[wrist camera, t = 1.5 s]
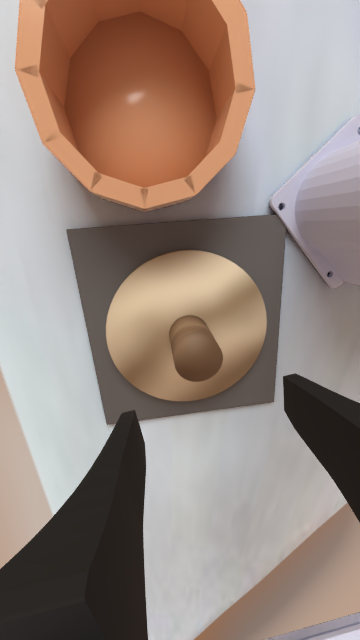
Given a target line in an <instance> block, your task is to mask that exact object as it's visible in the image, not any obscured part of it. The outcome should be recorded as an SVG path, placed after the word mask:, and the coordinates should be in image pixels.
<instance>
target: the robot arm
mask: <svg viewBox="0 0 360 640" xmlns="http://www.w3.org/2000/svg"><path fill="white" fill-rule="evenodd" d="M358 128H359V129H360V115H358V116H355V117H353V118H351V119H350V120H349V121H348V122H347V123H346V124H345V125H344V126H343V127H342V128H341V129H340V130H339V131H338V132H337V133H336V134H335V135H334V136H333V137H332V138H331V139H330V140H329V141H328V142H327V143H326V144H325V145H324V146H323V147H322V148H320V149H319V150H318V151H317V152H316V153H315V154H314V155H313V156H312V157H311V158H310V159H309V160H308V161H307V162H306V163H305V164H304V165H303V166H302V167H301V168H300V169H299V170H298V171H297V172H296V173H295V174H294V175H293V176H292V177H291V178H290V179H289V180H288V181H287V182H286V183H285V184H284V185H283V186H282V187H281V188H280V189H279V190H278V191H277V192H276V193H275V194H274V195H273V196H272V197H271V198H270V201H269V205H270V207H271V208H272V209H273V211H274V212H275V214H277V215H278V216H279V218H280V219H281V220H282V222H283V223H284V225H285V226H286V229H287V230H288V231H289V233H290V234H291V235H292V237H293V238H294V240H295V241H296V242H297V244H298V245H299V246H300V248H301V249H302V251H303V252H304V253H305V255H306V256H307V257H308V259H309V260H310V261H311V263H312V264H313V266H314V267H315V268H316V270H317V271H318V272H319V274H320V275H321V277H322V278H323V279H324V281H325V282H326V283H327V285H328V286H329V287H330V288H334V289H335V288H338V287H339V286H340V285H342V284H343V283H344V282H347V283H351V284H354V285H358V286H360V134H358V132H357V130H358ZM280 203H281V204H282V206H283V208H282V210H279V208H278V206H279V204H280ZM329 271H330V275H329V276H327V273H328V272H329ZM283 386H284V411H285V412H286V414H287V416H288V418H289V420H290V421H291V423H292V425H293V426H294V428H295V430H296V431H297V432H298V434H299V435H300V436H301V438H302V439H303V440H304V442H305V443H306V444H307V446H308V447H309V448H310V450H311V451H312V452H313V454H314V455H315V456H316V457H317V459H318V460H319V461H320V463H321V464H322V465H323V467H324V468H325V469H326V471H327V472H328V473H329V475H330V476H331V477H332V479H333V480H334V482H335V483H336V485H337V486H338V488H339V489H340V491H341V493H342V494H343V496H344V497H345V499H346V501H347V502H348V504H349V505H350V507H351V509H352V510H353V512H354V513H355V515H356V517H357V519H358V520H359V522H360V403H358V402H355V401H353V400H351V399H348V398H346V397H344V396H342V395H339V394H337V393H335V392H333V391H331V390H329V389H327V388H324V387H322V386H320V385H318V384H316V383H314V382H312V381H310V380H308V379H306V378H304V377H302V376H300V375H297V374H291V375H287V376H283ZM145 476H146V456H145V443H144V439H143V436H142V432H141V429H140V425H139V422H138V418H137V415H136V412H135V410H132V411H128V412H123V413H122V414H121V415H120V417H119V419H118V421H117V423H116V425H115V427H114V429H113V431H112V433H111V435H110V437H109V438H108V440H107V442H106V444H105V446H104V447H103V449H102V451H101V453H100V454H99V456H98V457H97V459H96V461H95V462H94V464H93V465H92V467H91V469H90V470H89V472H88V473H87V474H86V476H85V477H84V479H83V480H82V482H81V483H80V484H79V486H78V487H77V488H76V490H75V491H74V492H73V494H72V495H71V496H70V497H69V499H68V500H67V501H66V502H65V503H64V505H63V506H62V507H61V508H60V509H59V510H58V512H57V513H56V514H55V515H54V516H53V517H52V519H51V520H50V521H49V522H48V523H47V524H46V525H45V526H44V527H43V528H42V529H41V531H39V532H38V534H36V535H35V537H34V538H33V539H32V540H31V541H30V542H29V543H28V544H27V545H26V546H25V547H24V548H22V549H21V551H19V552H18V553H17V554H16V555H15V556H14V557H13V558H12V559H11V560H10V561H9V562H8V563H6V564H5V565H4V566H3V567H2V568H1V569H0V640H148V634H147V616H146V597H145V575H144V548H143V513H144V495H145ZM264 640H360V612H359V613H355V614H352V615H348V616H345V617H341V618H338V619H335V620H331V621H327V622H324V623H320V624H317V625H313V626H310V627H306V628H303V629H299V630H296V631H292V632H289V633H285V634H282V635H278V636H275V637H271V638H268V639H264Z"/></svg>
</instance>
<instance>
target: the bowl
mask: <svg viewBox="0 0 360 640" xmlns="http://www.w3.org/2000/svg"><path fill="white" fill-rule="evenodd" d="M15 69H16V70H15V71H16V74H17V76H18V79H19V82H20V84H21V87H22V90H23V92H24V95H25V98H26V101H27V103H28V106H29V109H30V111H31V114H32V117H33V119H34V122H35V125H36V127H37V130H38V133H39V135H40V138H41V141H42V143H43V145H44V146H45V147H46V148H47V149H48V150H49V151H50V152H51V153H52V154H53V155H54V156H55V157H56V158H57V159H58V160H59V161H60V162H61V163H62V164H63V165H64V166H65V167H66V168H67V169H68V170H69V171H70V172H71V173H72V174H73V175H74V176H75V177H76V178H77V179H78V180H79V181H80V182H81V183H82V184H83V185H84V186H85V187H86V188H87V189H88V190H89V191H90V192H92V193H93V194H95V195H97V196H99V197H100V198H102V199H105V200H108V201H111V202H114V203H118V204H121V205H123V206H126V207H131V208H134V209H137V210H140V211H143V212H147V211H151V210H155V209H159V208H164V207H167V206H170V205H174V204H178V203H182V202H185V201H187V200H189V199H191V198H192V197H194V196H195V195H197V194H198V193H199V192H200V191H201V189H202V188H203V187H204V186H205V185H206V184H207V183H208V182H209V181H210V180H211V179H212V178H213V177H214V176H215V175H216V174H217V173H218V172H219V171H220V170H221V169H222V168H223V167H224V166H225V164H226V163H227V162H228V161H229V160H230V159H231V158H232V157H233V156H234V155H235V154H236V151H237V148H238V144H239V141H240V138H241V135H242V131H243V128H244V125H245V122H246V118H247V115H248V112H249V109H250V105H251V102H252V99H253V96H254V92H255V82H254V73H253V64H252V55H251V46H250V36H249V27H248V18H247V13H246V10H245V8H244V6H243V5H242V3H241V1H240V0H20V4H19V18H18V32H17V46H16V60H15Z"/></svg>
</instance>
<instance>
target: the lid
mask: <svg viewBox="0 0 360 640" xmlns="http://www.w3.org/2000/svg"><path fill="white" fill-rule="evenodd" d="M266 327H267V317H266V309H265V304H264V301H263V298H262V295H261V293H260V291H259V289H258V287H257V285H256V284H255V283H254V281H253V280H252V279H251V277H250V276H249V275H248V274H247V273H246V272H245V271H244V270H243V269H242V268H240V267H239V266H238V265H236V264H235V263H233V262H231V261H230V260H228V259H226V258H224V257H222V256H219V255H216V254H213V253H210V252H205V251H201V250H178V251H173V252H168V253H165V254H162V255H159V256H156V257H154V258H152V259H150V260H148V261H146V262H145V263H143V264H142V265H140V266H139V267H137V268H136V269H135V270H134V271H133V272H132V273H131V274H130V275H129V276H128V277H127V278H126V279H125V280H124V282H123V283H122V284H121V286H120V287H119V289H118V290H117V292H116V294H115V296H114V298H113V300H112V303H111V305H110V308H109V312H108V315H107V322H106V339H107V345H108V349H109V352H110V355H111V358H112V360H113V362H114V364H115V365H116V367H117V368H118V370H119V371H120V373H121V374H122V375H123V376H124V377H125V378H126V380H128V381H129V382H130V383H131V384H132V385H133V386H135V387H136V388H138V389H139V390H141V391H143V392H145V393H147V394H149V395H151V396H154V397H157V398H160V399H165V400H170V401H193V400H199V399H204V398H207V397H210V396H213V395H216V394H218V393H220V392H222V391H224V390H226V389H227V388H229V387H231V386H232V385H233V384H235V383H236V382H237V381H239V380H240V379H241V378H242V377H243V376H244V375H245V374H246V373H247V371H248V370H249V369H250V368H251V367H252V365H253V364H254V362H255V361H256V359H257V357H258V355H259V353H260V351H261V349H262V346H263V343H264V340H265V335H266Z"/></svg>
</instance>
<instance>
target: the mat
mask: <svg viewBox="0 0 360 640" xmlns="http://www.w3.org/2000/svg"><path fill="white" fill-rule="evenodd" d="M66 231H67V235H68V240H69V245H70V250H71V255H72V259H73V264H74V269H75V274H76V279H77V283H78V288H79V293H80V298H81V303H82V307H83V312H84V317H85V322H86V327H87V331H88V336H89V341H90V346H91V351H92V355H93V360H94V365H95V370H96V375H97V379H98V384H99V389H100V394H101V399H102V403H103V408H104V413H105V418H106V423H107V425H108V424H115V423H117V421H118V419H119V417H120V415H121V414H122V413H123V412H128V411H132V410H135V412H136V415H137V418H138V420H144V419H152V418H159V417H166V416H174V415H181V414H188V413H196V412H203V411H210V410H218V409H225V408H232V407H240V406H247V405H254V404H262V403H269V402H274V392H275V378H276V364H277V349H278V335H279V321H280V307H281V292H282V278H283V264H284V250H285V235H286V226H285V225H284V223H283V222H282V220H281V219H280V218H279V216H278V215H277V214H276V215H262V216H248V217H234V218H220V219H206V220H192V221H178V222H164V223H151V224H137V225H123V226H109V227H95V228H81V229H67V230H66ZM178 250H201V251H205V252H210V253H213V254H216V255H219V256H222V257H224V258H226V259H228V260H230V261H231V262H233V263H235V264H236V265H238V266H239V267H240V268H242V269H243V270H244V271H245V272H246V273H247V274H248V275H249V276H250V277H251V279H252V280H253V281H254V283H255V284H256V285H257V287H258V289H259V291H260V293H261V295H262V298H263V301H264V304H265V309H266V317H267V327H266V335H265V340H264V343H263V346H262V349H261V351H260V353H259V355H258V357H257V359H256V361H255V362H254V364H253V365H252V367H251V368H250V369H249V370H248V371H247V373H246V374H245V375H244V376H243V377H242V378H241V379H240V380H239V381H237V382H236V383H235V384H233V385H232V386H231V387H229V388H227V389H226V390H224V391H222V392H220V393H218V394H216V395H213V396H210V397H207V398H204V399H199V400H193V401H170V400H165V399H160V398H157V397H154V396H151V395H149V394H147V393H145V392H143V391H141V390H139V389H138V388H136V387H135V386H133V385H132V384H131V383H130V382H129V381H128V380H126V378H125V377H124V376H123V375H122V374H121V373H120V371H119V370H118V368H117V367H116V365H115V364H114V362H113V360H112V358H111V355H110V352H109V349H108V345H107V339H106V322H107V315H108V312H109V308H110V305H111V303H112V300H113V298H114V296H115V294H116V292H117V290H118V289H119V287H120V286H121V284H122V283H123V282H124V280H125V279H126V278H127V277H128V276H129V275H130V274H131V273H132V272H133V271H134V270H135V269H136V268H137V267H139V266H140V265H142V264H143V263H145V262H146V261H148V260H150V259H152V258H154V257H156V256H159V255H162V254H165V253H168V252H173V251H178Z"/></svg>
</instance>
